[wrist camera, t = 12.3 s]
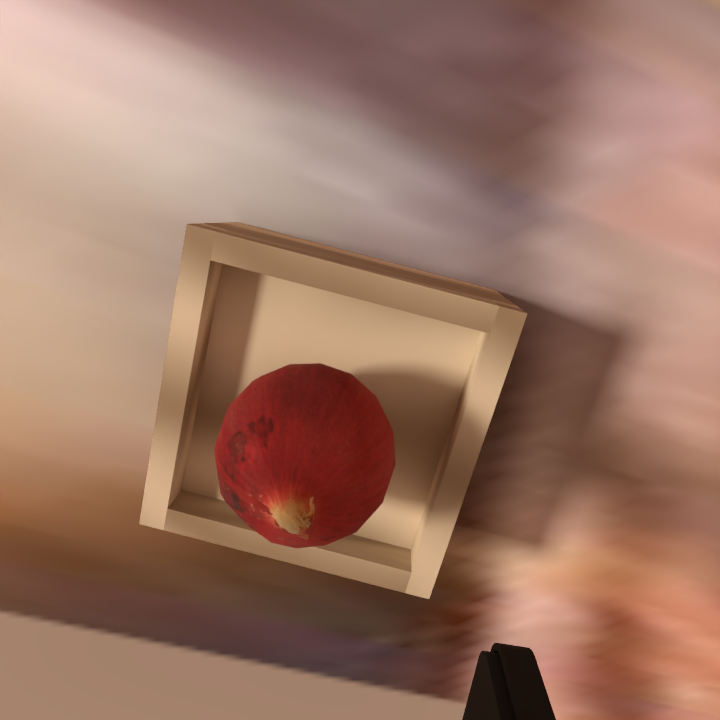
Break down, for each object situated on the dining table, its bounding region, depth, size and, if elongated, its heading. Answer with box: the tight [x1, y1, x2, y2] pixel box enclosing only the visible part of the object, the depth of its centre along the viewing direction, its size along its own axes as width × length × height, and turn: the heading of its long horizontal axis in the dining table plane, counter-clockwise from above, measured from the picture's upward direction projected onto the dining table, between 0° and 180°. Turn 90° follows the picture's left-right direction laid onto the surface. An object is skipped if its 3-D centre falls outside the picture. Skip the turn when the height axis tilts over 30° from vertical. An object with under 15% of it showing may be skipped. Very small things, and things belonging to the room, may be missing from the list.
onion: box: [214, 363, 396, 548], centre depth 17 cm, size 6×6×8 cm
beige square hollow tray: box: [139, 222, 528, 599], centre depth 23 cm, size 12×12×6 cm
